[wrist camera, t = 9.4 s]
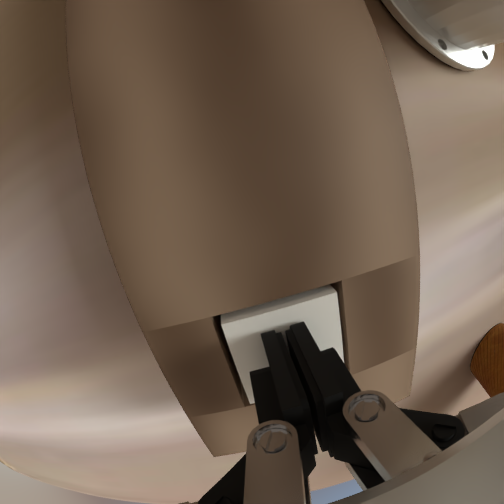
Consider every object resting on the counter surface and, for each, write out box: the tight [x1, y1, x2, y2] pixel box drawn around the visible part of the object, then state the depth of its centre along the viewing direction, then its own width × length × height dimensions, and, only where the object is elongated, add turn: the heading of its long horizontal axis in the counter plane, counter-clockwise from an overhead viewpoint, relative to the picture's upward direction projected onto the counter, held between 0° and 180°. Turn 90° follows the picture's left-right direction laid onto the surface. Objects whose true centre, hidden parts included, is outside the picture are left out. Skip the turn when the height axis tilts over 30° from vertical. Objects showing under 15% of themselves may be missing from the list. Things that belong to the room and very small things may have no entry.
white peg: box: [221, 284, 344, 404], centre depth 13 cm, size 4×4×6 cm
